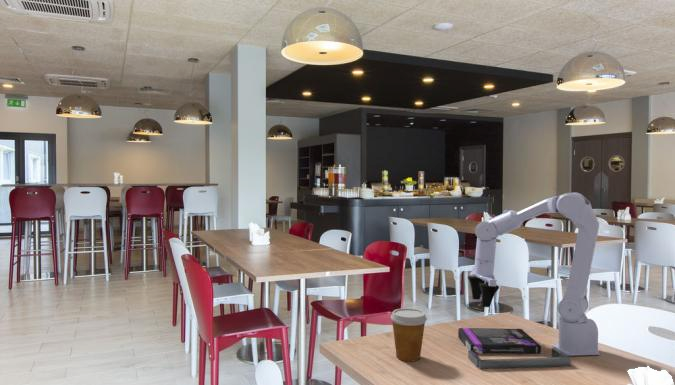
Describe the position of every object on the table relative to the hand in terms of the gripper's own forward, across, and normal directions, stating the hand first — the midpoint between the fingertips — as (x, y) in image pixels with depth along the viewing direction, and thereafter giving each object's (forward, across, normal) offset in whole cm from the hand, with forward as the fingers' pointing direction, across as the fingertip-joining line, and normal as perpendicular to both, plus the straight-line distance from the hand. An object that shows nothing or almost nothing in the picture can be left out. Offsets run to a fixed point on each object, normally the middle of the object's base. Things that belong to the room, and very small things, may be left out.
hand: (480, 302), depth 148 cm
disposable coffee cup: (+10, +19, -27) cm, 34 cm away
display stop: (+8, +25, +1) cm, 26 cm away
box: (+10, +12, +1) cm, 15 cm away
